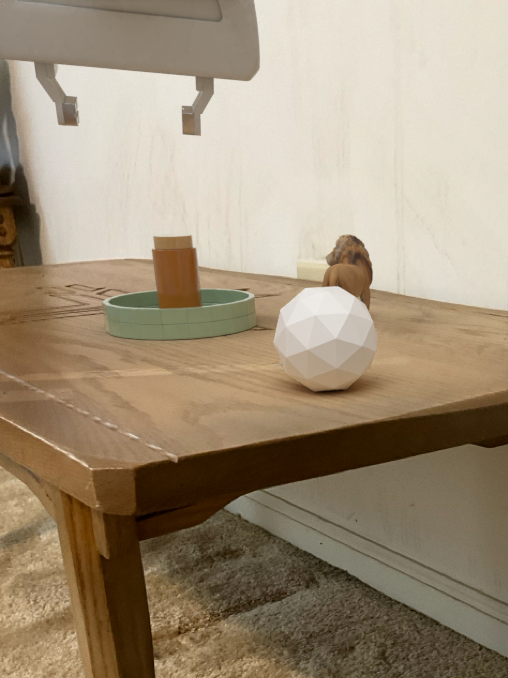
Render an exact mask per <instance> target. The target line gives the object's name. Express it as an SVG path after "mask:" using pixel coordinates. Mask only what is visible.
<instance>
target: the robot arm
mask: <svg viewBox="0 0 508 678" xmlns="http://www.w3.org/2000/svg"><path fill="white" fill-rule="evenodd" d="M256 10H257V9H256V3H255V0H0V60H9V61H19V62H30V63H33V66H34V71H35V78H36V79H37V81H38V83H39V84H40V85H41V86H42V88H43V90H44V91H45V93H46V94H47V95H48V97H49V98H50V99H51V101H52V102H53V103H54V104H55V105H54V106H55V112H56V113H55V114H56V120H57V124H58V126H64V127H65V126H66V127H67V126H68V127H79V124H80V111H79V110H78V108H79V103H78V96H73V95H67V94H66V92H65V91H64V90H63V88H62V86H61V85H60V83H59V82H58V79H56V77H57V74H58V71H59V65H63V66H73V67H74V66H75V67H85V68H94V69H95V68H96V69H106V70H119V71H128V72H129V71H130V72H140V73H141V72H142V73H149V74H151V73H152V74H162V75H172V76H173V75H174V76H182V77H183V76H184V77H195V90H196V91H197V92H198V93H197V95H196V97H195V99H194V100H193V103H192V104H191V105H181V129H182V135H186V136H197V137H200V136H201V135H202V128H201V127H202V126H201V125H202V124H201V123H202V122H201V115H202V114H203V113H204V112H205V110H206V108H207V106H208V104H209V103H210V101H211V100H212V97H213V96H214V94H215V79H217V80H228V81H229V80H230V81H238V82H239V81H240V82H250V81H252V80H253V78H254V77H255V76H256V75H257V74H258V72H259V71H260V68H261V53H260V52H261V49H260V36H259V35H260V33H259V26H258V17H257V12H256Z"/></svg>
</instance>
